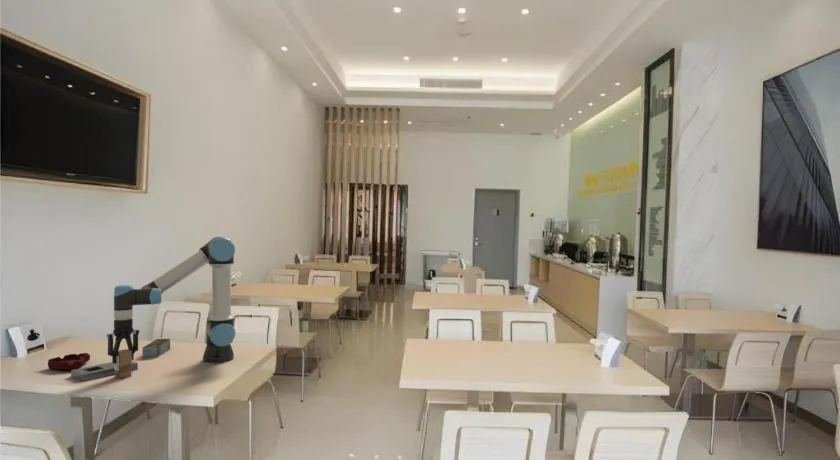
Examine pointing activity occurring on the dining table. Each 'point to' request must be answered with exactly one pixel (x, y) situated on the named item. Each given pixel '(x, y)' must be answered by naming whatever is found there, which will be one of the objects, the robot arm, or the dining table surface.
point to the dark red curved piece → (69, 362)
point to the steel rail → (97, 371)
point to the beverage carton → (156, 348)
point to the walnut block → (124, 364)
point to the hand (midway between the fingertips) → (123, 368)
